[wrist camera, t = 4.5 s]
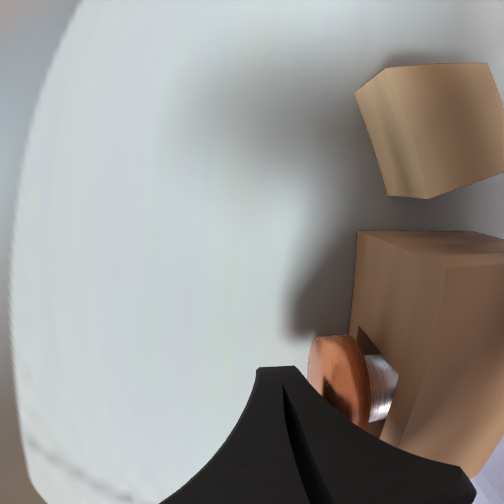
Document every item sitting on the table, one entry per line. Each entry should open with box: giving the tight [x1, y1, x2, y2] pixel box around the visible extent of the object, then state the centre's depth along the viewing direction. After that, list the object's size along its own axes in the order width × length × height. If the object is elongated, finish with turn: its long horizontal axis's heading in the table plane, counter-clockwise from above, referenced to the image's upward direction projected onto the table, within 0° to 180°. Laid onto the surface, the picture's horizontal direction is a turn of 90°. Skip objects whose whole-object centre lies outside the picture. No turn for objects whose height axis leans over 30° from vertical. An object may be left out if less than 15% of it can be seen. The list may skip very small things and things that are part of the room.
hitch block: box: [349, 230, 504, 479], centre depth 9 cm, size 6×10×5 cm, turn 1°
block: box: [354, 63, 504, 199], centre depth 9 cm, size 5×4×3 cm
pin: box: [307, 334, 399, 432], centre depth 9 cm, size 12×4×4 cm, turn 91°
